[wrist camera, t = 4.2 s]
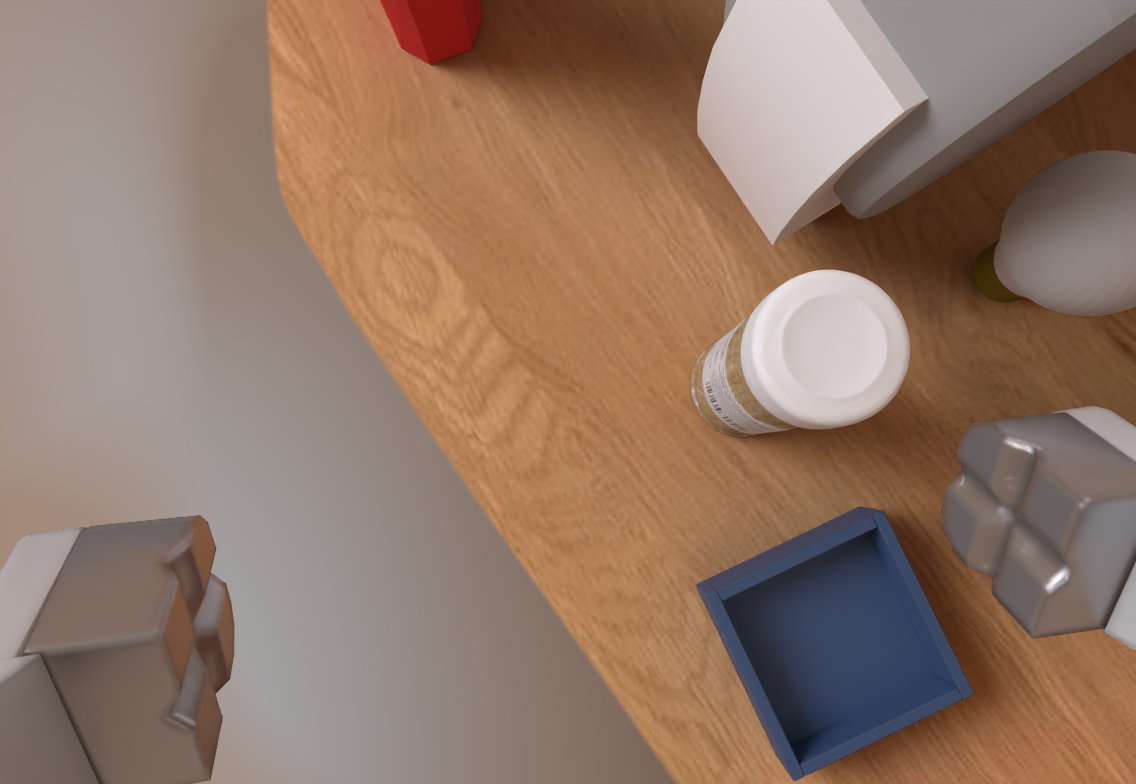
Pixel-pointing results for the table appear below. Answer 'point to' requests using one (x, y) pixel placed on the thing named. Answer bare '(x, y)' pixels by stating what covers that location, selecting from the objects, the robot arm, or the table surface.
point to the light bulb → (1069, 238)
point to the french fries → (434, 26)
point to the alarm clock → (885, 92)
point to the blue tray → (834, 640)
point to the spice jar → (805, 358)
